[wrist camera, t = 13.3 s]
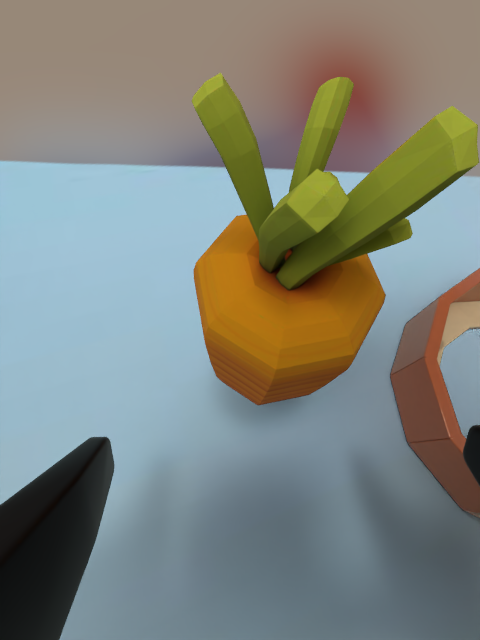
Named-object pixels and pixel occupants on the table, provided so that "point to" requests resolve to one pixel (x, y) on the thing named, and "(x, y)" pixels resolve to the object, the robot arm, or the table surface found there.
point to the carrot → (309, 244)
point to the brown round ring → (437, 389)
